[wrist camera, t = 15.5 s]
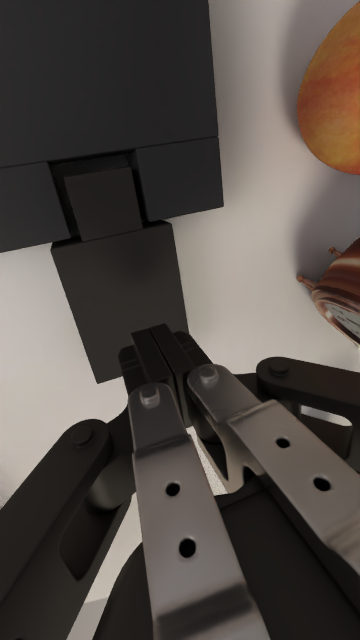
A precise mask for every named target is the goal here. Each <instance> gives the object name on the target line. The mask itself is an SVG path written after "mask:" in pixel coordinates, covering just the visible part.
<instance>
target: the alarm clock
mask: <svg viewBox="0 0 360 640" xmlns="http://www.w3.org/2000/svg"><path fill="white" fill-rule="evenodd" d="M329 253H333V254H334V255H335V256H336V257H337V259H336V260H335V261H334V262H333V263H332V264H331V265H330V267H329V268H328V269H327V270H326V272H325V273H324V275H323V276H322V278H321V279H320V281H319V282H318V284H317V283H315V282H312V281H310V280H307V279H305V278H304V276H302V275H299V276H298V277H297V281H299V282H302V283H303V284H305V285H306V286H307V287H308V288H309V289H310V290H311V291H312V293H311V297H312V299H313V301H314V303H315V306H316V308H317V309H318V311H319V312H320V313H321V314H322V316H323V317H324V318H325V319H326V320H327V321H328V322H329V323H331V324H332V325H333V326H334V327H335V328H336V329H337V330H339V331H340V332H341V333H342V334H343V335H345V336H346V337H347V338H349V339H350V340H351V341H353V342H354V343H355V344H357V345H358V346H359V347H360V238H358V239H357V240H355V241H354V242H353V243H352V244H351V245H350V246H349V248H347V249H346V250H345V251H344V252H343V253H341V252H339V251H337V250H336V249H335V248H334V247H331V248H329Z"/></svg>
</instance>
